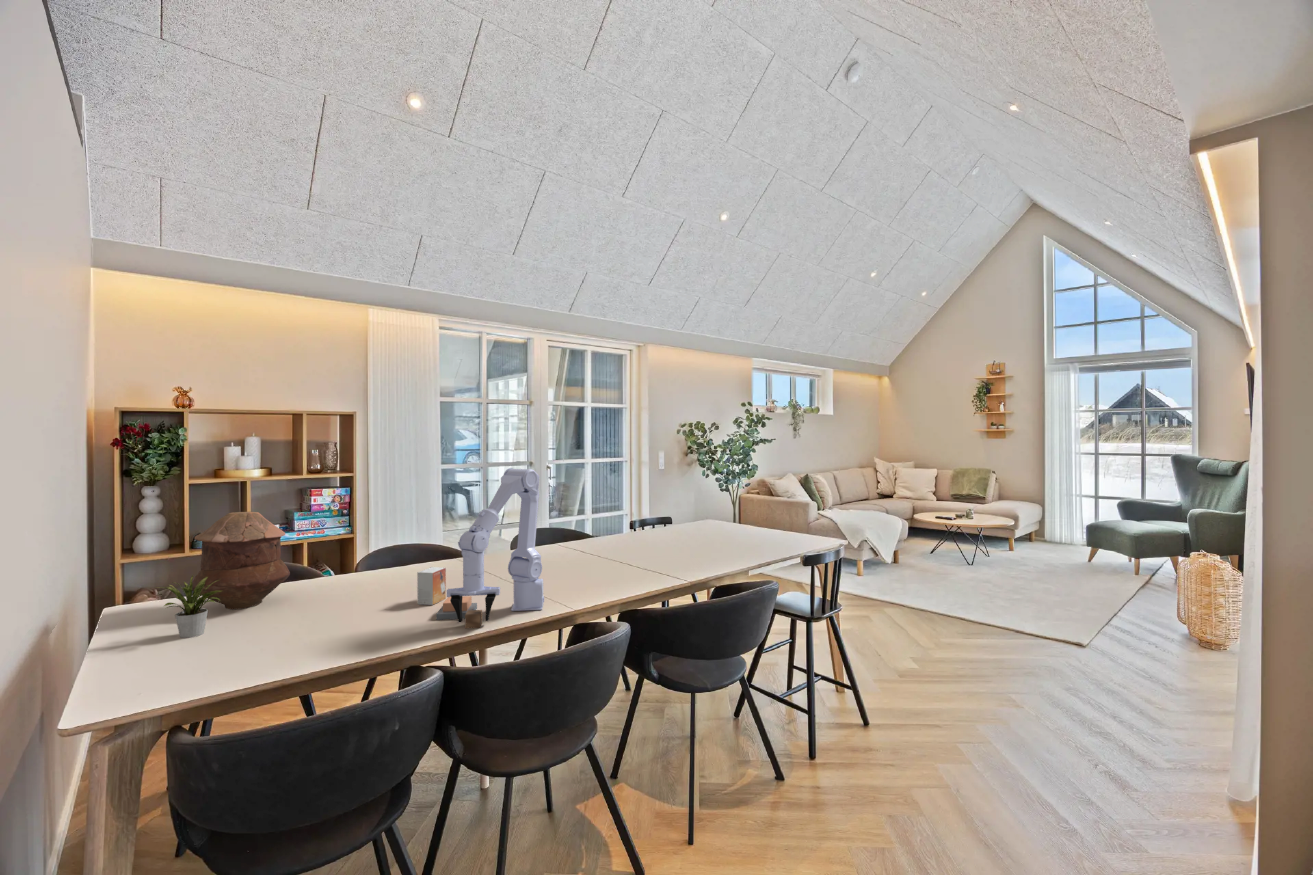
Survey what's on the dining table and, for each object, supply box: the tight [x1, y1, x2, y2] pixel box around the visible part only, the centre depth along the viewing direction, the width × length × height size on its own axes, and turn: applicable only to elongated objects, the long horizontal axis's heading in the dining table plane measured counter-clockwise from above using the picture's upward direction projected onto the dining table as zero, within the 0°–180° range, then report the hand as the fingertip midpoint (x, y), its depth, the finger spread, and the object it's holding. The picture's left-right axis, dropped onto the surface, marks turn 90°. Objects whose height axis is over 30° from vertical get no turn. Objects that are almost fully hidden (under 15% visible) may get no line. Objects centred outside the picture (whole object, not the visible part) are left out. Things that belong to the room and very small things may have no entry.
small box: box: [416, 566, 447, 606], centre depth 191 cm, size 8×6×10 cm
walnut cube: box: [464, 609, 483, 629], centre depth 167 cm, size 4×4×4 cm
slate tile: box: [435, 602, 478, 621], centre depth 178 cm, size 10×10×2 cm
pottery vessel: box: [192, 511, 291, 610], centre depth 188 cm, size 26×26×30 cm
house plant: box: [155, 574, 221, 639], centre depth 159 cm, size 14×14×16 cm
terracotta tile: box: [442, 596, 473, 612], centre depth 178 cm, size 7×7×2 cm
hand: (473, 620), depth 167 cm, fingers open, 7 cm apart
